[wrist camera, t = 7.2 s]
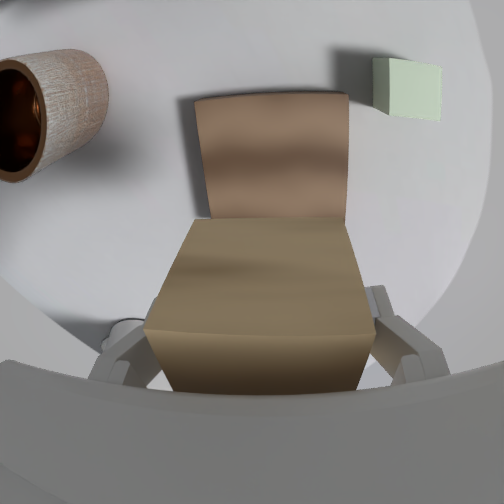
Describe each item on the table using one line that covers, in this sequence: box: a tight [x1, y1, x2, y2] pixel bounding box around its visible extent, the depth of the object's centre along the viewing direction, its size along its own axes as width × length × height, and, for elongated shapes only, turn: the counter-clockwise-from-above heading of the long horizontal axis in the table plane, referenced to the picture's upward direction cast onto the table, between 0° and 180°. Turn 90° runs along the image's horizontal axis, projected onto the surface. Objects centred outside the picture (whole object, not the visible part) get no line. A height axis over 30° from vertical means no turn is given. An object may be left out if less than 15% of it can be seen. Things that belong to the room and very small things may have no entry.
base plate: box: [194, 91, 349, 224], centre depth 26 cm, size 12×12×2 cm
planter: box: [0, 49, 109, 183], centre depth 20 cm, size 11×11×10 cm
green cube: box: [372, 58, 442, 121], centre depth 20 cm, size 4×4×4 cm
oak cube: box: [143, 218, 376, 395], centre depth 11 cm, size 6×6×6 cm
